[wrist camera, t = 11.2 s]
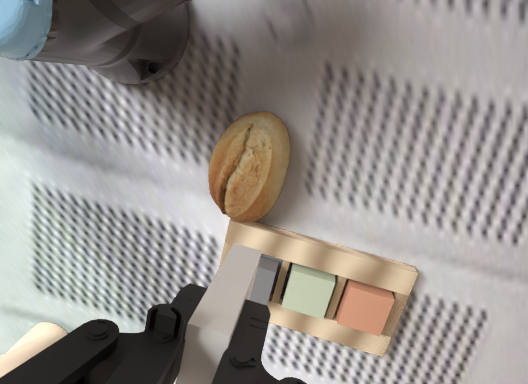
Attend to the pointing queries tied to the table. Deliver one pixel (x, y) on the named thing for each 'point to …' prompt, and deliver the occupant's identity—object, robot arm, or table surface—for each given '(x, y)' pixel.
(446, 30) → the table surface
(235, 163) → the bread roll
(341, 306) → the terracotta tile
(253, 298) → the charcoal tile
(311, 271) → the sage tile
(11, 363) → the water bottle
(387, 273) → the board
